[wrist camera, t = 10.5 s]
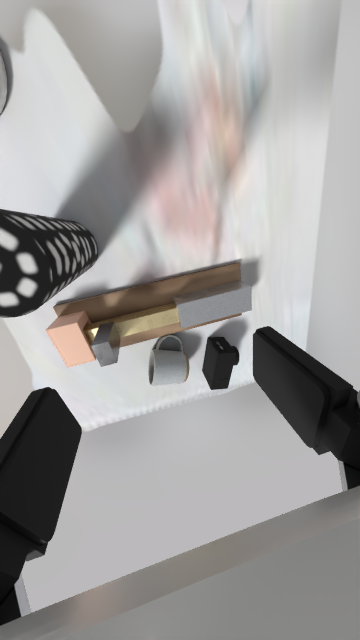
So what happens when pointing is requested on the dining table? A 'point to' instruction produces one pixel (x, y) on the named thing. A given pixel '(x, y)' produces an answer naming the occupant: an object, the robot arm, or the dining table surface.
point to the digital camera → (219, 362)
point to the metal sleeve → (213, 303)
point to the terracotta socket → (71, 338)
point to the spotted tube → (39, 259)
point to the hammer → (125, 330)
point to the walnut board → (150, 300)
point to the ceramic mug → (168, 365)
